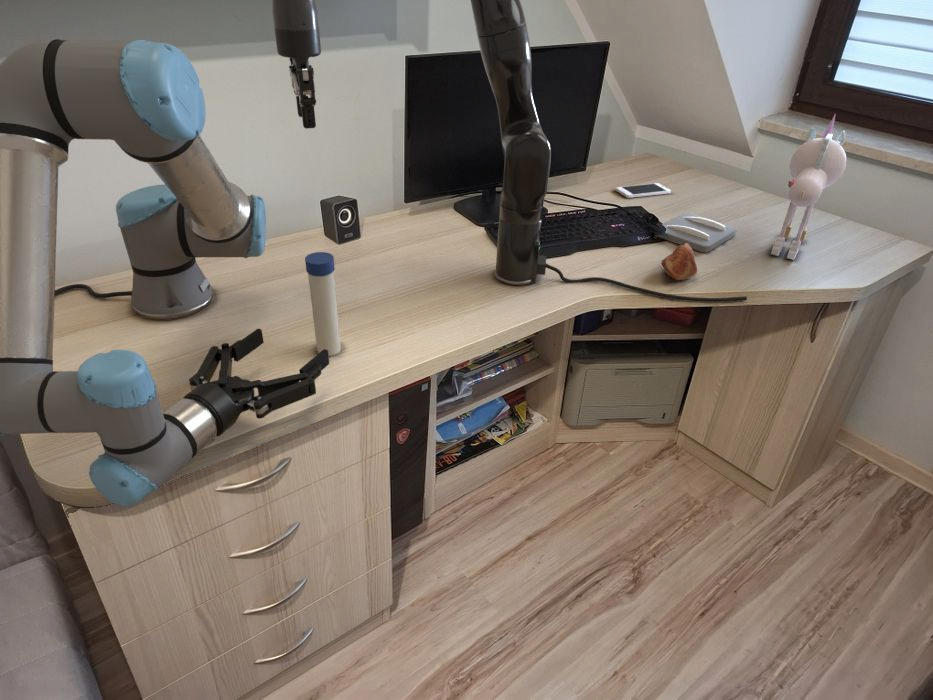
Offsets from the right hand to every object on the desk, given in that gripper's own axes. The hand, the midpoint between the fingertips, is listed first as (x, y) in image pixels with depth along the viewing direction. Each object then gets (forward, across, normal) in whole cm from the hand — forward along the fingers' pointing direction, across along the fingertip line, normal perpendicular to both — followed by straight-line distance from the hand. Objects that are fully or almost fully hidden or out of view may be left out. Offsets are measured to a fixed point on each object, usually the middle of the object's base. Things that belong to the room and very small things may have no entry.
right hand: (306, 122), depth 119 cm
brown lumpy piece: (+35, -15, -79) cm, 87 cm away
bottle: (+35, -25, +3) cm, 43 cm away
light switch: (+35, +4, -97) cm, 103 cm away
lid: (+16, -25, +3) cm, 30 cm away
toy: (+35, -5, -121) cm, 126 cm away
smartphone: (+35, +36, -101) cm, 113 cm away
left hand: (+28, -32, +9) cm, 43 cm away
